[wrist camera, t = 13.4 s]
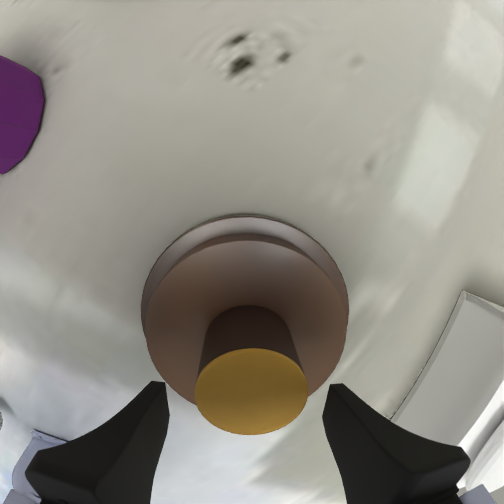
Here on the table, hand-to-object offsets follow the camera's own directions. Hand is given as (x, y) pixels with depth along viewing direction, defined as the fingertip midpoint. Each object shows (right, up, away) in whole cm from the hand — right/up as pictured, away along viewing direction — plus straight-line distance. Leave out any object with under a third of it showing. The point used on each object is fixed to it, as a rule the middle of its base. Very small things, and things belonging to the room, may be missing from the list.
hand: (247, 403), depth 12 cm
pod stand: (0, +2, +9) cm, 9 cm away
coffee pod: (0, +1, +5) cm, 5 cm away
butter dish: (+23, -7, +12) cm, 27 cm away
